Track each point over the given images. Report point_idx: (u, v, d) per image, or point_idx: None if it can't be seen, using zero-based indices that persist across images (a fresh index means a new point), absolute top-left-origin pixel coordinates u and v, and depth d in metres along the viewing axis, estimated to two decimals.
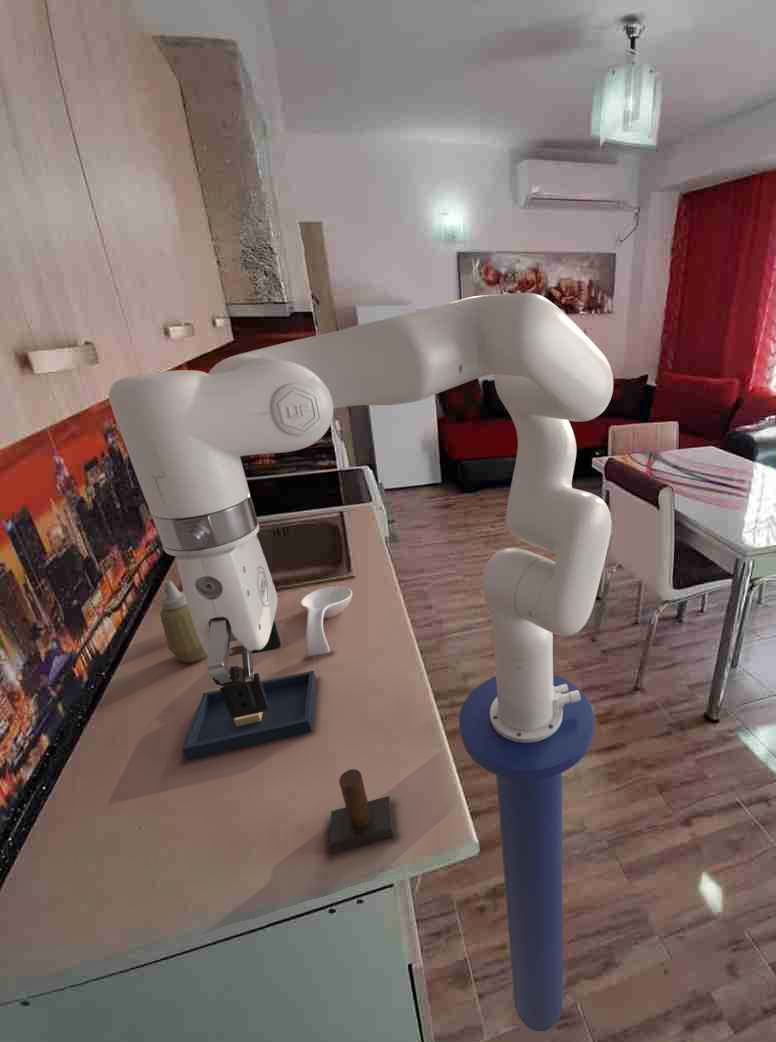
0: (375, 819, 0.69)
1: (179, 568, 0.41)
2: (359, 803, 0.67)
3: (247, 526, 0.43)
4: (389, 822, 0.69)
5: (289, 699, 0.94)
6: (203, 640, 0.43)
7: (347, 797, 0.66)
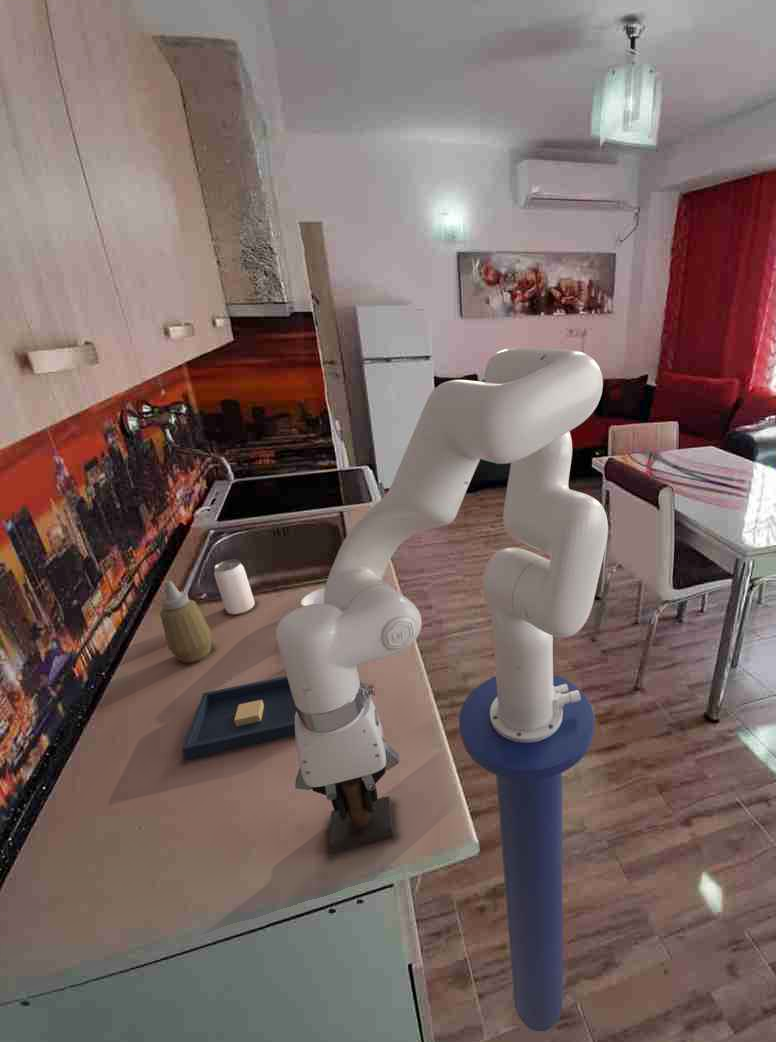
0: (375, 819, 0.69)
1: (368, 718, 0.61)
2: (359, 803, 0.67)
3: None
4: (389, 822, 0.69)
5: (289, 699, 0.94)
6: (384, 754, 0.64)
7: (348, 797, 0.66)
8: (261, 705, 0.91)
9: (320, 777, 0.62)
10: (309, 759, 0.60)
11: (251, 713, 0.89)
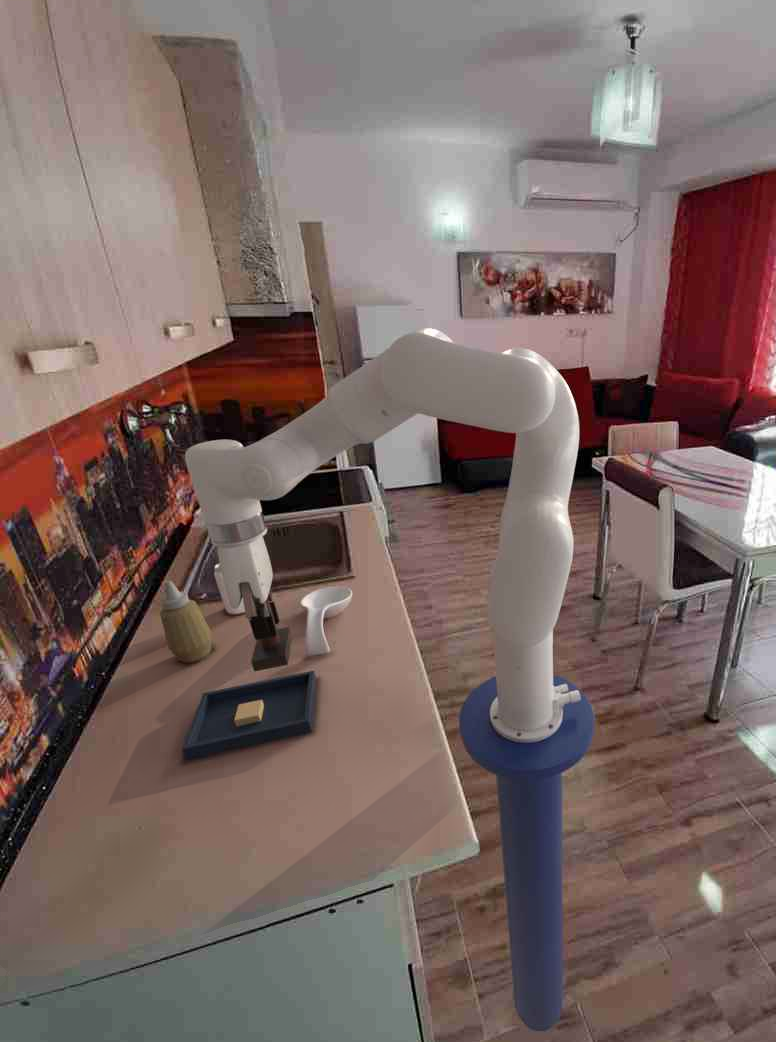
0: None
1: None
2: (273, 616, 0.82)
3: None
4: (284, 628, 0.87)
5: (289, 699, 0.94)
6: None
7: (270, 612, 0.80)
8: (261, 705, 0.91)
9: (265, 587, 0.76)
10: (260, 569, 0.74)
11: (251, 713, 0.89)
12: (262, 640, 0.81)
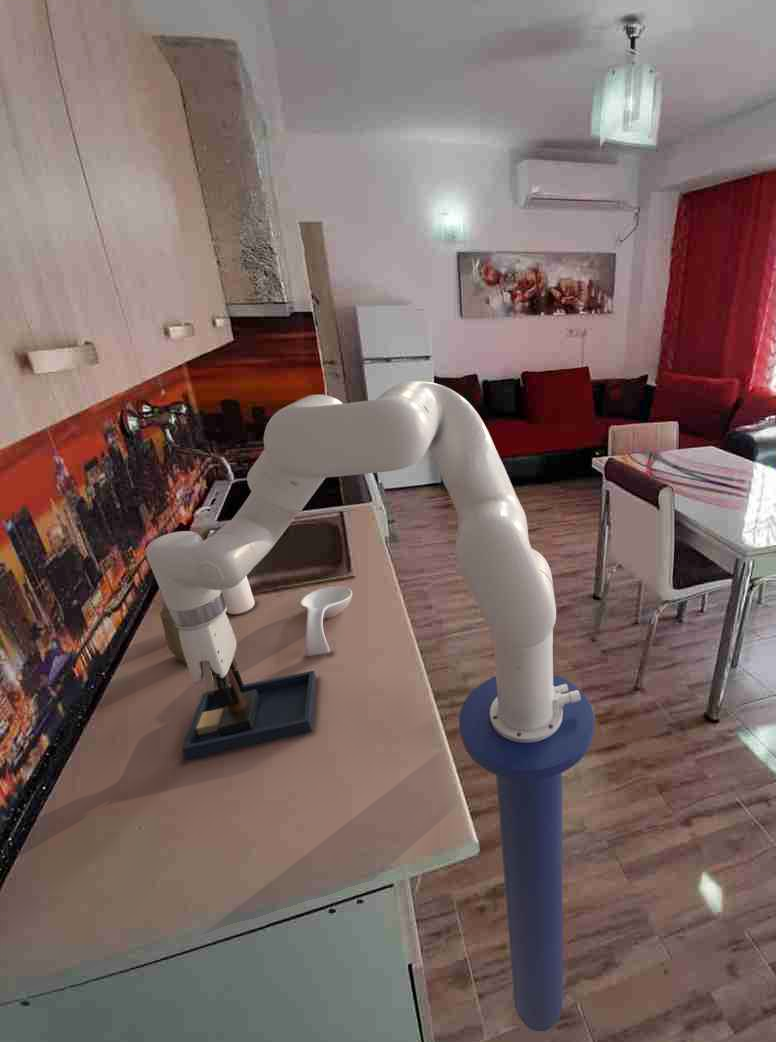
0: (243, 699, 0.91)
1: None
2: (237, 684, 0.88)
3: None
4: (251, 691, 0.93)
5: (289, 699, 0.94)
6: None
7: (233, 681, 0.86)
8: None
9: (226, 662, 0.82)
10: (219, 647, 0.80)
11: (214, 721, 0.88)
12: (228, 706, 0.87)
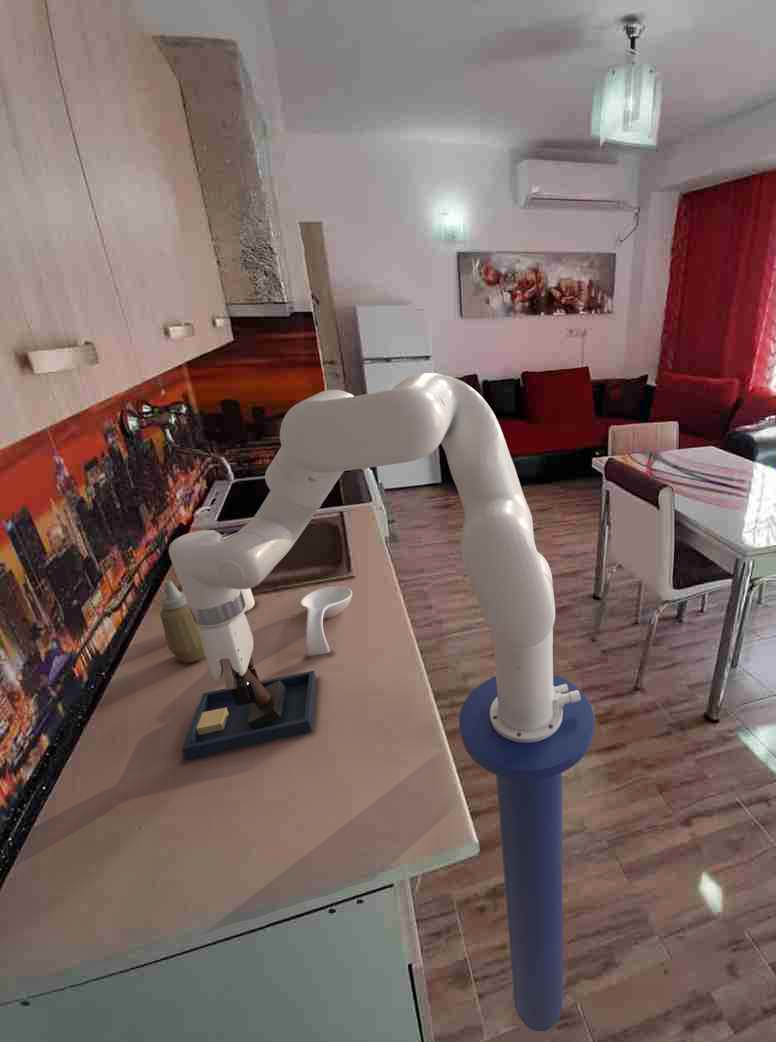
0: (269, 691, 0.92)
1: None
2: (256, 678, 0.88)
3: None
4: (275, 682, 0.93)
5: (289, 699, 0.94)
6: None
7: (249, 676, 0.87)
8: (225, 713, 0.90)
9: (245, 660, 0.83)
10: (239, 646, 0.81)
11: (214, 721, 0.88)
12: None
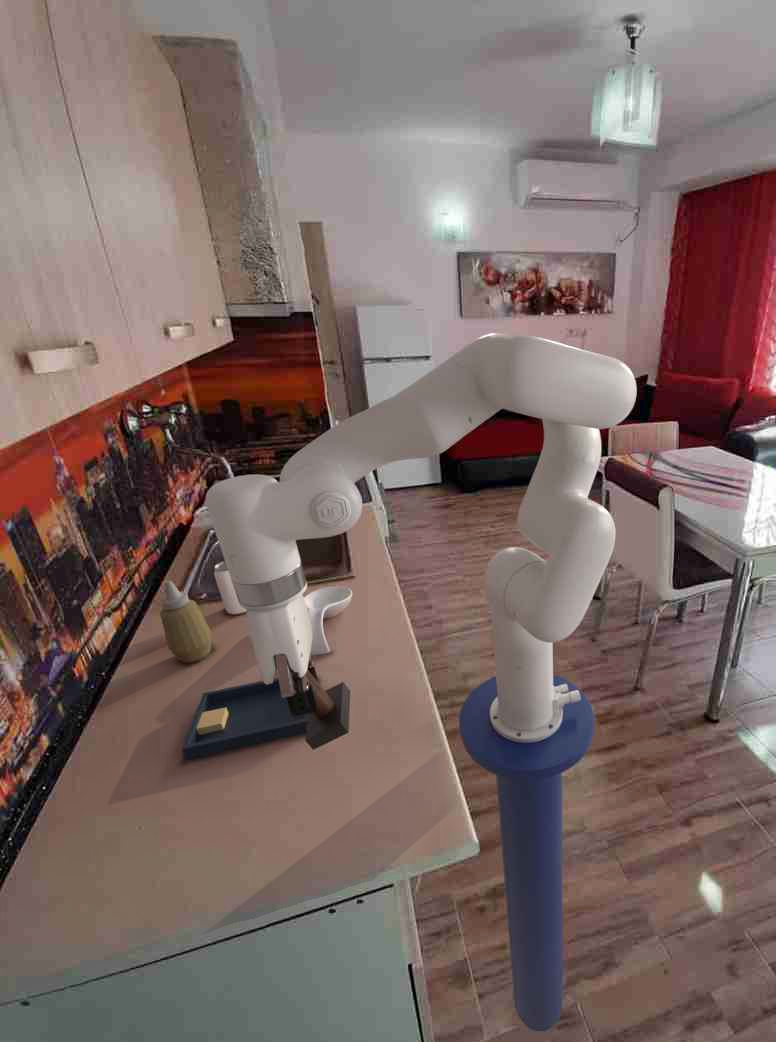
0: (330, 697, 0.70)
1: None
2: None
3: None
4: (337, 685, 0.71)
5: None
6: None
7: (308, 677, 0.65)
8: (225, 713, 0.90)
9: (305, 656, 0.61)
10: (299, 636, 0.59)
11: (214, 721, 0.88)
12: None
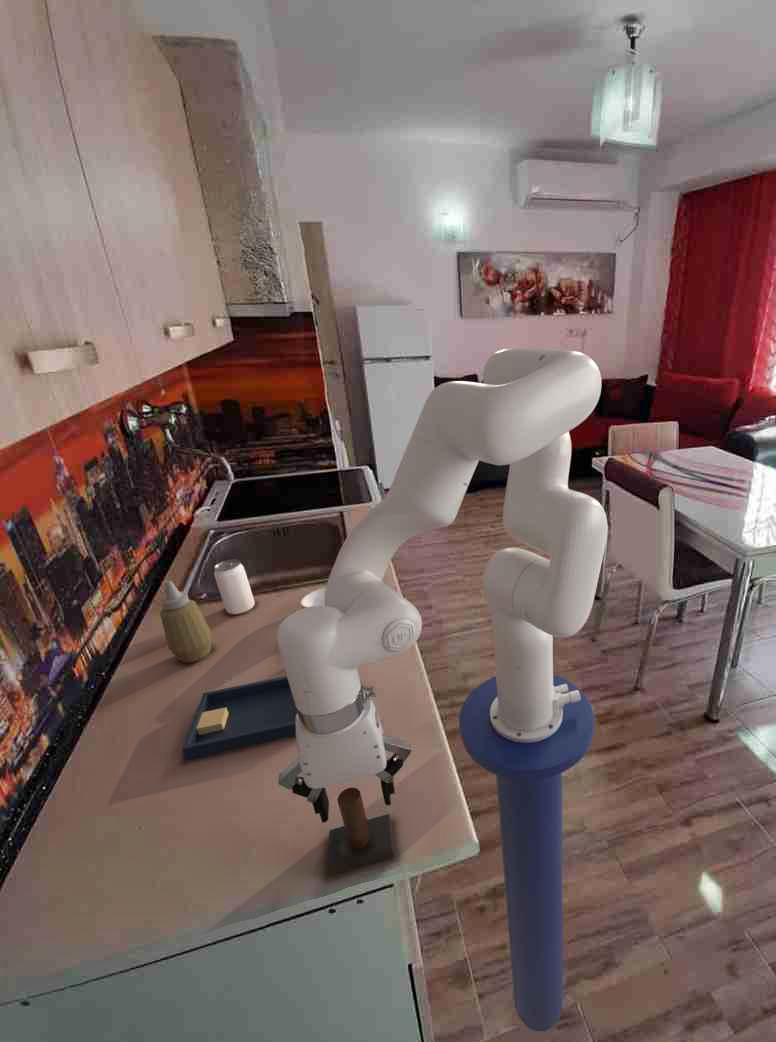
0: (375, 838, 0.67)
1: (369, 720, 0.61)
2: (358, 823, 0.64)
3: None
4: (389, 841, 0.66)
5: (289, 699, 0.94)
6: (384, 756, 0.64)
7: (346, 817, 0.63)
8: (225, 713, 0.90)
9: (321, 778, 0.62)
10: (310, 761, 0.61)
11: (214, 721, 0.88)
12: None
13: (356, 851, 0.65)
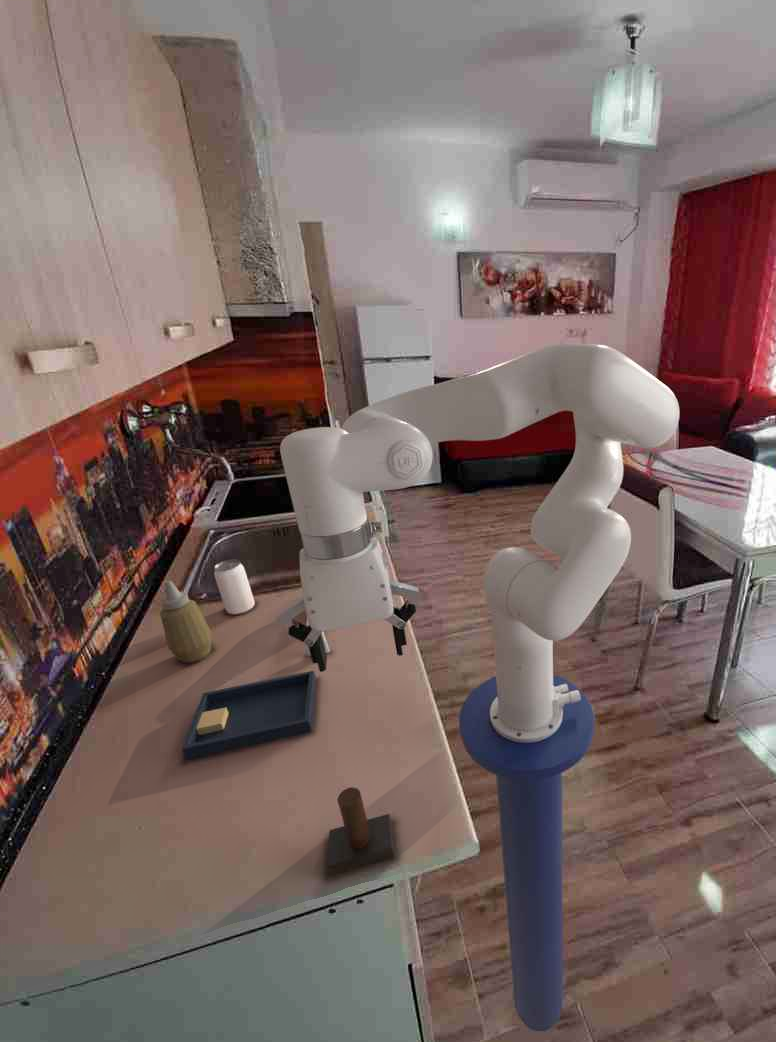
0: (375, 838, 0.67)
1: (375, 555, 0.59)
2: (358, 823, 0.64)
3: None
4: (389, 841, 0.66)
5: (289, 699, 0.94)
6: (391, 600, 0.62)
7: (346, 817, 0.63)
8: (225, 713, 0.90)
9: (326, 618, 0.60)
10: (314, 595, 0.58)
11: (214, 721, 0.88)
12: None
13: (356, 851, 0.65)
